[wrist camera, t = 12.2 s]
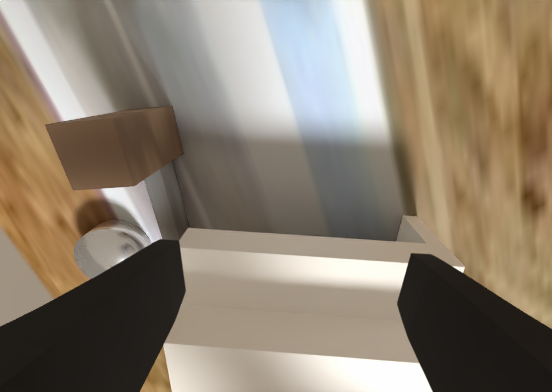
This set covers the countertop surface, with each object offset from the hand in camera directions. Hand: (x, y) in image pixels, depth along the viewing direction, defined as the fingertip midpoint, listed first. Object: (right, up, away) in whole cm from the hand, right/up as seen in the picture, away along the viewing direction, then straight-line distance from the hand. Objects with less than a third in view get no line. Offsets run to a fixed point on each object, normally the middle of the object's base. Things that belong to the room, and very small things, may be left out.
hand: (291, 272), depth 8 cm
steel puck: (-13, -2, +13) cm, 18 cm away
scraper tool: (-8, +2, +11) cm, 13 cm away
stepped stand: (+1, -2, +12) cm, 12 cm away
